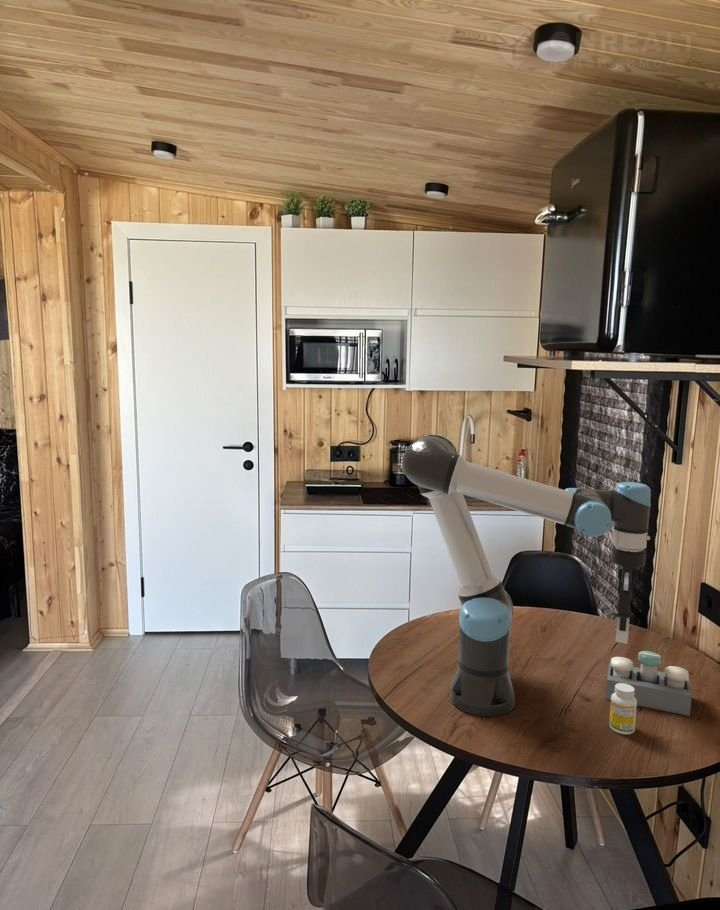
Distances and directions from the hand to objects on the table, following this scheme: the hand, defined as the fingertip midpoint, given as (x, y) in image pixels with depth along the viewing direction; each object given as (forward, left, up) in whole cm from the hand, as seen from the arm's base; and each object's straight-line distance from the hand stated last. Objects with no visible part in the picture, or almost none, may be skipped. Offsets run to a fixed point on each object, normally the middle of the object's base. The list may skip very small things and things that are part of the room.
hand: (621, 641), depth 154 cm
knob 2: (0, -12, -11) cm, 17 cm away
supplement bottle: (-17, -1, -13) cm, 22 cm away
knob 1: (0, 0, -11) cm, 11 cm away
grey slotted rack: (0, -6, -13) cm, 14 cm away
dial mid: (0, -6, -9) cm, 11 cm away
